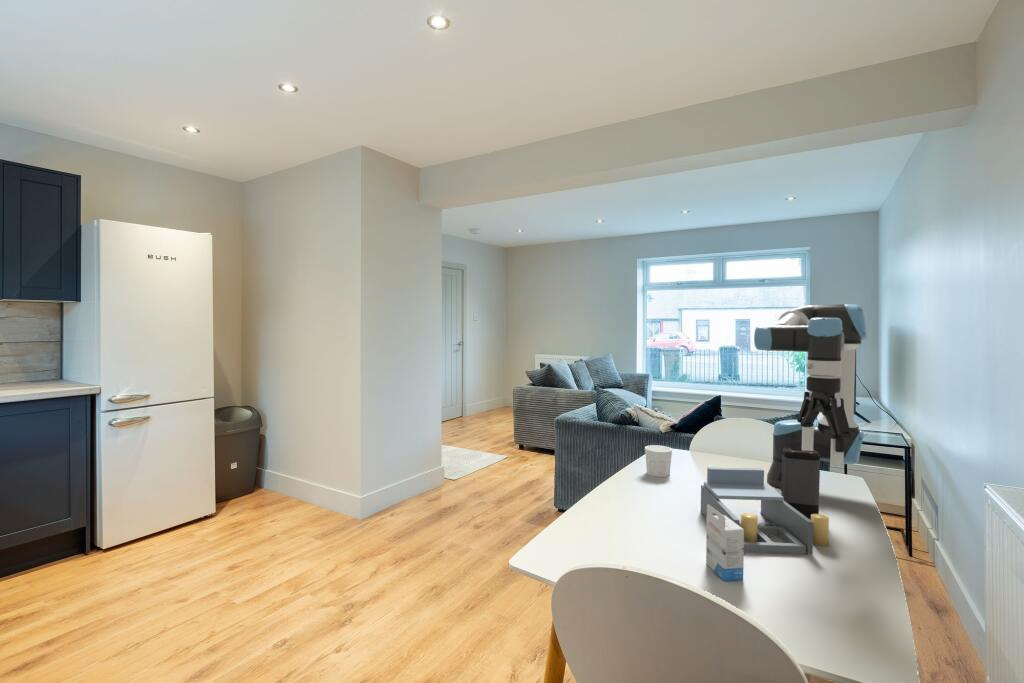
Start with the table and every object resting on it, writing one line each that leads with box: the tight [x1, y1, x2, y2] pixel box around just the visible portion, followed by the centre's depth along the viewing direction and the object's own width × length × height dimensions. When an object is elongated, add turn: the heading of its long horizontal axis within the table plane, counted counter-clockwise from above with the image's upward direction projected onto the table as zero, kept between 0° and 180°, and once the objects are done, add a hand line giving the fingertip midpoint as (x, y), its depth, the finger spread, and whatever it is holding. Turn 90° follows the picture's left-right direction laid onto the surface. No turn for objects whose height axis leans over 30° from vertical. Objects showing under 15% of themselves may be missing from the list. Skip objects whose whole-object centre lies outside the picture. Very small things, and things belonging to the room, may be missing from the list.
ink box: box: [705, 504, 745, 582], centre depth 113 cm, size 9×5×15 cm, turn 5°
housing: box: [700, 484, 814, 555], centre depth 136 cm, size 19×27×8 cm
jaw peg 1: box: [740, 512, 759, 542], centre depth 129 cm, size 4×4×7 cm
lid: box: [703, 466, 784, 501], centre depth 142 cm, size 18×12×6 cm, turn 86°
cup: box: [644, 444, 673, 478], centre depth 187 cm, size 10×10×10 cm
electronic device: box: [780, 448, 821, 520], centre depth 146 cm, size 9×6×20 cm, turn 71°
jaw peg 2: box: [811, 513, 830, 547], centre depth 128 cm, size 4×4×7 cm
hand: (821, 457), depth 127 cm, fingers open, 13 cm apart
